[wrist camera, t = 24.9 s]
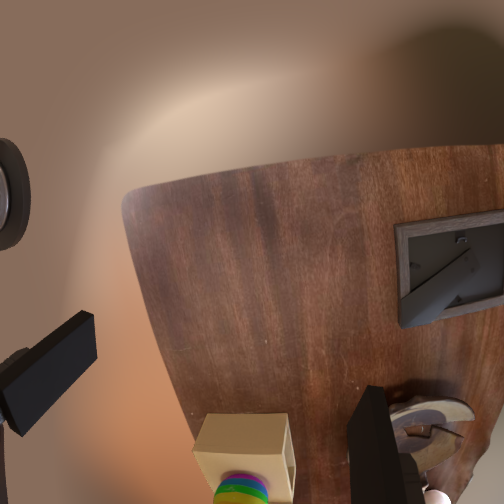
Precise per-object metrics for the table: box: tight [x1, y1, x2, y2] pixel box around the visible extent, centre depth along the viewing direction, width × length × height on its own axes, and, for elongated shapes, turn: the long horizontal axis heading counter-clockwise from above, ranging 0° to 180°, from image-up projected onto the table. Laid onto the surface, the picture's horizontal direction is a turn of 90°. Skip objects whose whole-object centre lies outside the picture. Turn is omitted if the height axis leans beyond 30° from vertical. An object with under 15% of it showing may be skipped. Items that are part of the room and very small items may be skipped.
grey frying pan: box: [346, 395, 475, 493], centre depth 41 cm, size 22×30×8 cm
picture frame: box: [393, 209, 504, 329], centre depth 35 cm, size 13×2×18 cm
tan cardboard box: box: [192, 413, 296, 504], centre depth 45 cm, size 14×16×10 cm
